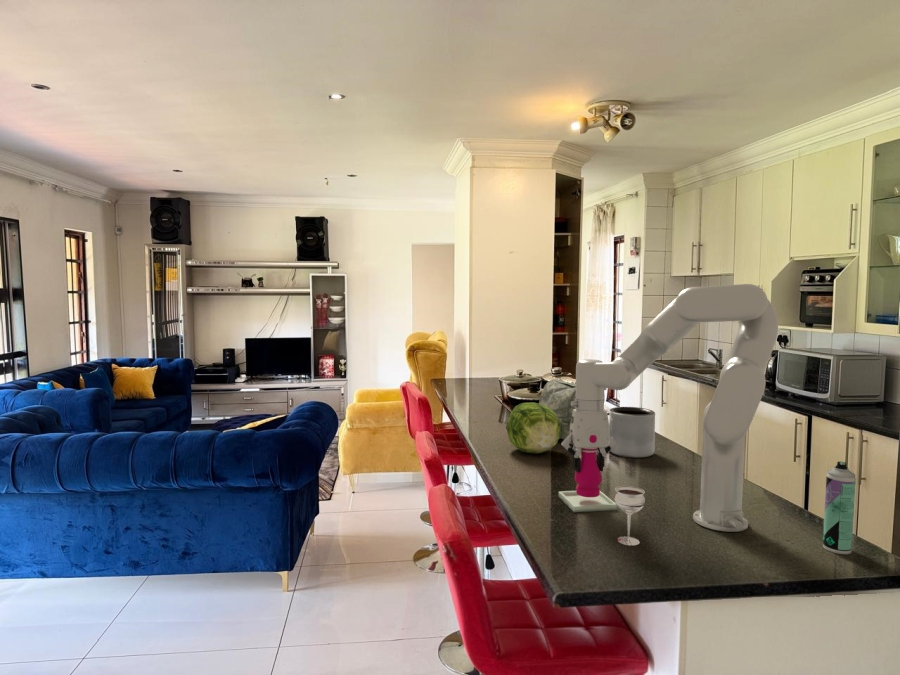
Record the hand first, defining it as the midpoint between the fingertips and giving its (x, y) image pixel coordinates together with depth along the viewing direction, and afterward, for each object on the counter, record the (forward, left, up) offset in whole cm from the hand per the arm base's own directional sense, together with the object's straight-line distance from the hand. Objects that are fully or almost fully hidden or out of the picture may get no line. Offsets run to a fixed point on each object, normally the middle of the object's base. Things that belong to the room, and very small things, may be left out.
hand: (588, 469), depth 161 cm
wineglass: (-25, 0, -10) cm, 27 cm away
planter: (+47, -36, -10) cm, 60 cm away
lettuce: (+52, -2, -10) cm, 53 cm away
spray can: (-36, -45, -10) cm, 58 cm away
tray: (0, 0, -9) cm, 9 cm away
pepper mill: (0, 0, -7) cm, 7 cm away
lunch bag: (+77, -23, -10) cm, 81 cm away
